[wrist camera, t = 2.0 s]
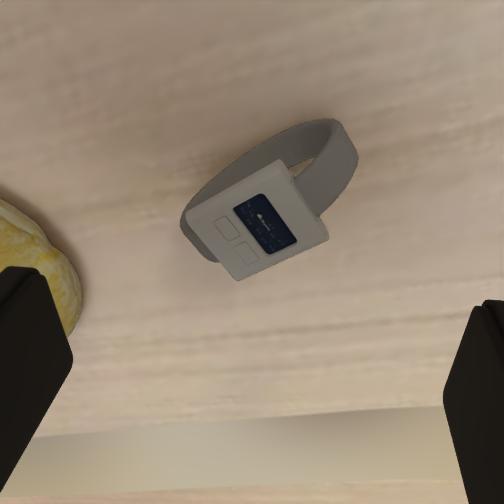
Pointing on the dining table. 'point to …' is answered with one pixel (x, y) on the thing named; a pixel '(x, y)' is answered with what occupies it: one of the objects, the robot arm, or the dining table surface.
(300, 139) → the wristwatch
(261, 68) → the dining table surface
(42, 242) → the bread roll
